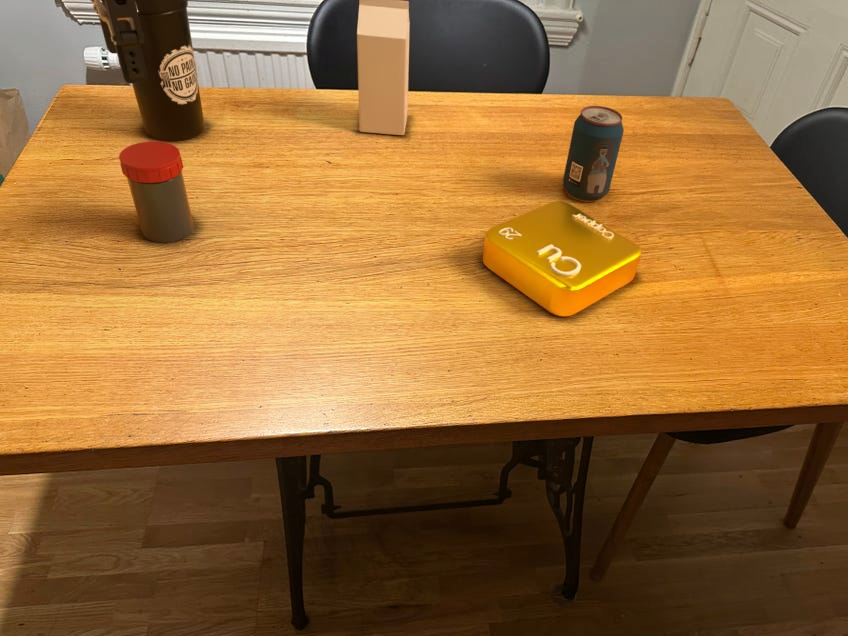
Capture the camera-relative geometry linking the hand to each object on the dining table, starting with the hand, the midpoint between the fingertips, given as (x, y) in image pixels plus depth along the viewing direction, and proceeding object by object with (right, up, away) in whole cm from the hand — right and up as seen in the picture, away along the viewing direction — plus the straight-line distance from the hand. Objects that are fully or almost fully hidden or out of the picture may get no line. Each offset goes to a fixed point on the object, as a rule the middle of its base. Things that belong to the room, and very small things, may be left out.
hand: (127, 66), depth 73 cm
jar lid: (-1, -8, +7) cm, 10 cm away
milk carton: (+21, +7, +40) cm, 46 cm away
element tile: (+47, -19, +16) cm, 53 cm away
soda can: (+52, -6, +31) cm, 61 cm away
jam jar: (-2, -15, +14) cm, 20 cm away
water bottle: (-9, +4, +33) cm, 34 cm away
